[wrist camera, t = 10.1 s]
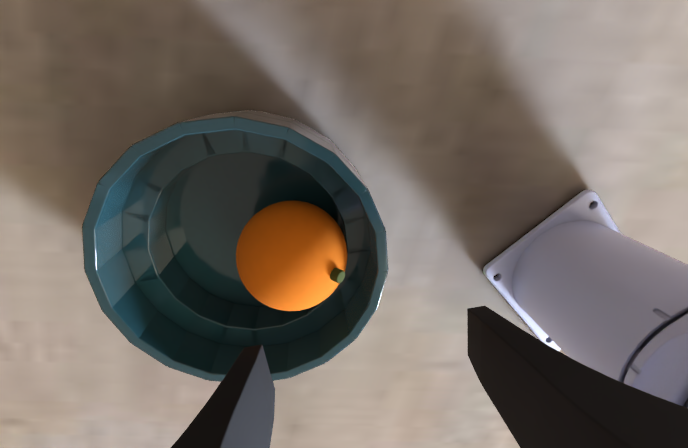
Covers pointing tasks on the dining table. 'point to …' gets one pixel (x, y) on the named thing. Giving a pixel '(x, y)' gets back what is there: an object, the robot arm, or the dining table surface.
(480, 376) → the robot arm
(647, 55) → the dining table surface
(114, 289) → the bowl
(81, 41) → the dining table surface
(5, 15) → the dining table surface
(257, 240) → the mandarin
